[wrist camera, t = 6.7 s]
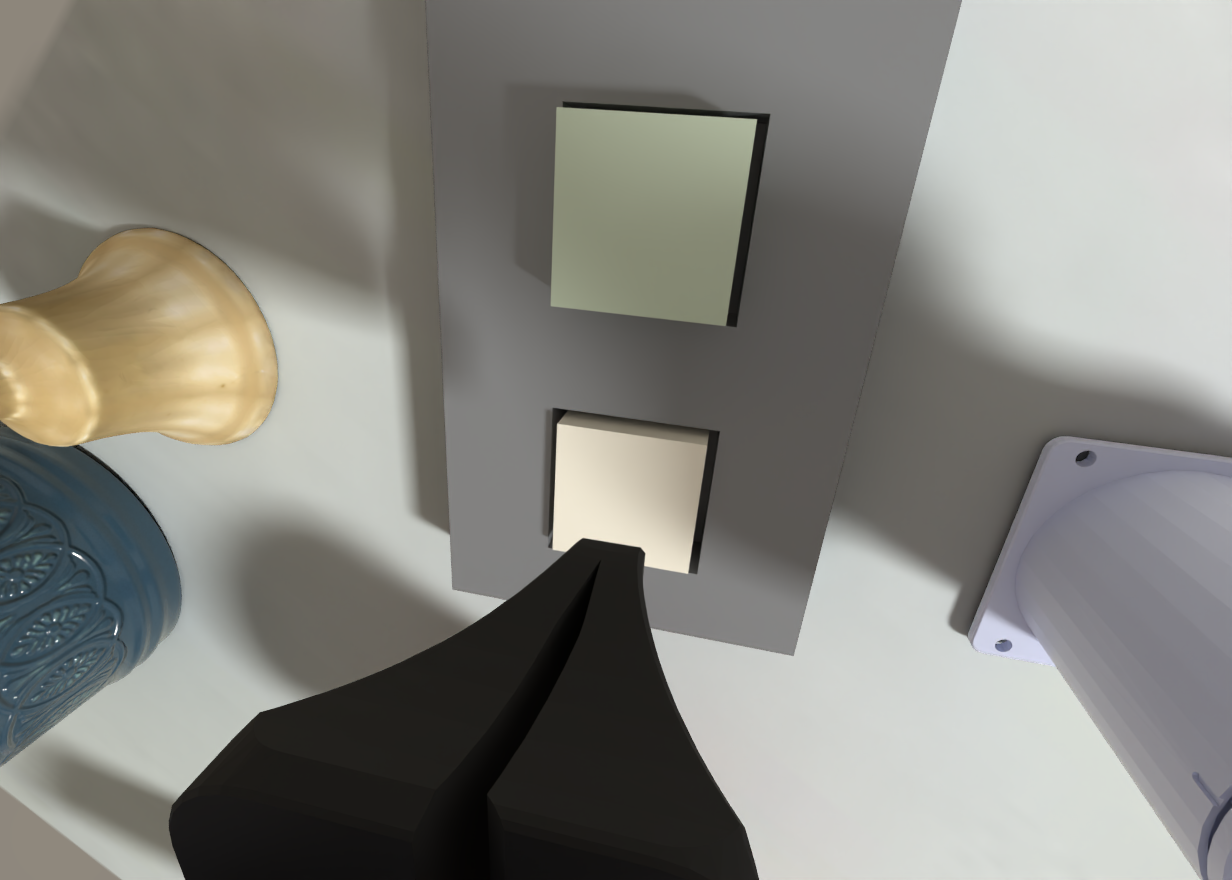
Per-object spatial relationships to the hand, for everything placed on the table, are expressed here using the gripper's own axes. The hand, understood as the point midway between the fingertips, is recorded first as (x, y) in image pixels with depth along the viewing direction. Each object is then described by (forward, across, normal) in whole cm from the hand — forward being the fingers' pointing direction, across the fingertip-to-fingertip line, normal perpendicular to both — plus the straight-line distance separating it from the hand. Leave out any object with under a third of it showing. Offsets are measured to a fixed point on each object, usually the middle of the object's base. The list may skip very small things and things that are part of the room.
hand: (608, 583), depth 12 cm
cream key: (+8, +1, +1) cm, 8 cm away
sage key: (+7, +1, -7) cm, 10 cm away
